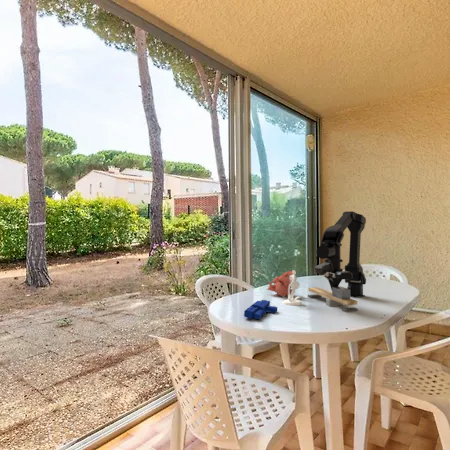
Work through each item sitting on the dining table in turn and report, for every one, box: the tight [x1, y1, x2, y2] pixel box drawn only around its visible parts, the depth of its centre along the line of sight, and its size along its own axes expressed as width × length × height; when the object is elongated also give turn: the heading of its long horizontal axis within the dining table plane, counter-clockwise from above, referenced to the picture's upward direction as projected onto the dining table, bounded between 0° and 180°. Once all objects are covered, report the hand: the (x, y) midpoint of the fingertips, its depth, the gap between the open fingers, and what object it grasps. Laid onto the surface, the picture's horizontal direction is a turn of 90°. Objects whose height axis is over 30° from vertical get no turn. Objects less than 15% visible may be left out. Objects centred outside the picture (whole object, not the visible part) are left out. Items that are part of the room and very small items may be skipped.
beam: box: [307, 286, 358, 306], centre depth 152 cm, size 5×30×2 cm, turn 17°
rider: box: [331, 285, 351, 300], centre depth 145 cm, size 4×7×4 cm, turn 16°
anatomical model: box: [266, 270, 297, 297], centre depth 170 cm, size 10×12×15 cm
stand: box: [307, 293, 359, 313], centre depth 152 cm, size 7×29×2 cm, turn 17°
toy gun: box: [243, 299, 278, 320], centre depth 138 cm, size 4×22×10 cm
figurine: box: [282, 269, 303, 307], centre depth 154 cm, size 9×9×15 cm
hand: (333, 292), depth 150 cm, fingers closed
